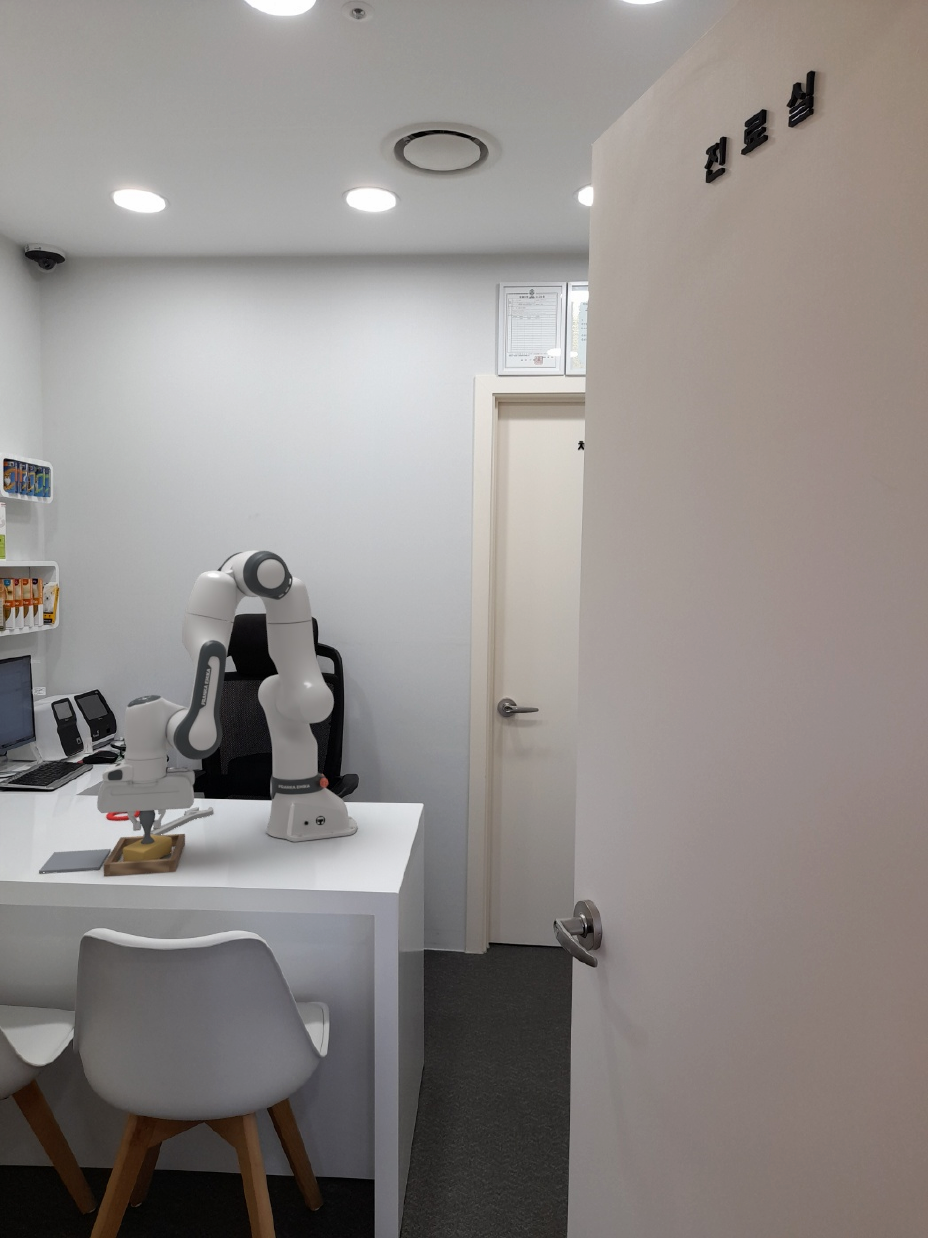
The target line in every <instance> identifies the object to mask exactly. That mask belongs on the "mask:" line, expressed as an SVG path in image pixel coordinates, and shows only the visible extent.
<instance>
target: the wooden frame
mask: <svg viewBox="0 0 928 1238" xmlns="http://www.w3.org/2000/svg"><path fill="white" fill-rule="evenodd" d="M157 836H165V837H171V839H172V847H173V849H172V852H171V855H170V857H169V858H160V859H158V860H141V861H125V862H123V861H120V859H121V857H123V848H124V847H126V846H128V845H130V844H133V843H135V842H137V841H139V840H141V839H143V838H144V836H143V835H138V836H122V837H120V838H119V839H118V841H117V842H116V844H115V845H114V847H113V849H112V850H111V852H110V853H109V855H108V856H107V858H106V860H105V861H104V863H103V877H112V876H113V877H114V876H128V875H142V874H143V875H144V874H158V873H159V874H161V873H174V872H176V870H177V867H178V864H179V862H180V859H181V856H182V853H183V852H184V848H185V846H186V834H185V833H176V834H175V833H174V834H162V835H157Z"/></svg>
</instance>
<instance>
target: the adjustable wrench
mask: <svg viewBox="0 0 928 1238" xmlns="http://www.w3.org/2000/svg"><path fill="white" fill-rule="evenodd" d="M212 814H213V815H214V807H211V806H209V807H208V808H207V809H203V810H200V807H199V806H198V807H193V808H192V807H191V808H188V809H186V810H184V813H183V815H182V816H181V817H178V818H176V819H173V820H172V821H171V820H170V821H169V822H167V823H165V824H163V825H162V824H161V829H154V830H153V829H151V832H150V835H161V834H162V835H165V834H166V833H168V832H171V831H173V830H175V829H177V828H178V826H179V827H181V826H183V825H185V824H188V823H189V821H190V822H192V821H195V820H198V819H197V818H199V819H203V818H207V816H208V817H211V816H212ZM210 815H211V816H210ZM202 817H203V818H202ZM194 819H195V820H194ZM176 827H177V828H176ZM174 828H175V829H174ZM142 836H145V834H144V833H143V834H142Z"/></svg>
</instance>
